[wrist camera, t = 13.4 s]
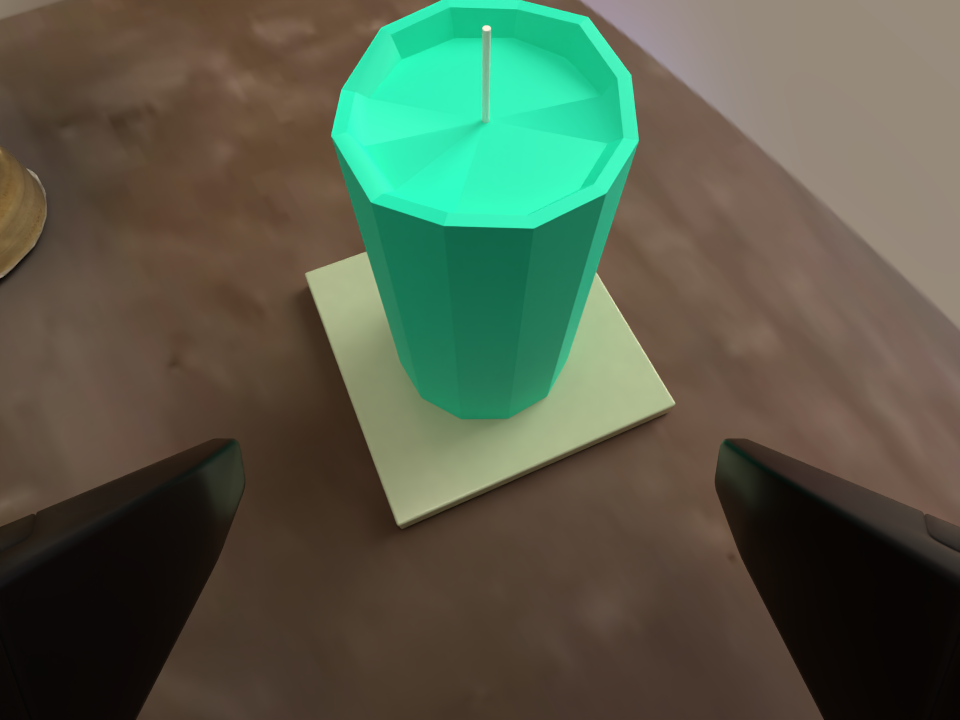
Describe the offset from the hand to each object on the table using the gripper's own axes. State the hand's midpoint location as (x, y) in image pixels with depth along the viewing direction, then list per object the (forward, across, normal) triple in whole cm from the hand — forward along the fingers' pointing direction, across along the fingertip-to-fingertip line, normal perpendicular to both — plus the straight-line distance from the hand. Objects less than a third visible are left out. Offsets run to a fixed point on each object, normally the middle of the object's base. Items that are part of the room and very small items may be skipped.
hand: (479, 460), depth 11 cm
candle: (+10, 0, +1) cm, 10 cm away
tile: (+11, 0, +2) cm, 11 cm away
